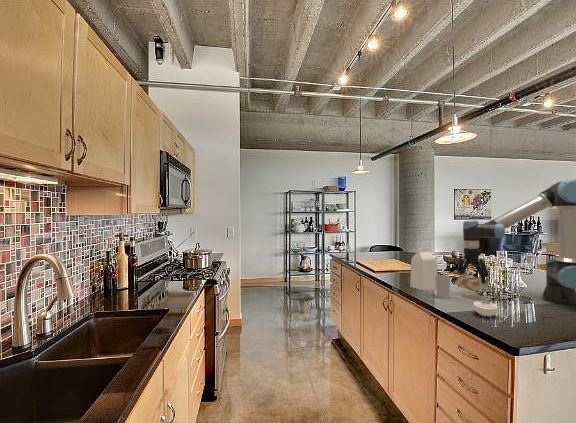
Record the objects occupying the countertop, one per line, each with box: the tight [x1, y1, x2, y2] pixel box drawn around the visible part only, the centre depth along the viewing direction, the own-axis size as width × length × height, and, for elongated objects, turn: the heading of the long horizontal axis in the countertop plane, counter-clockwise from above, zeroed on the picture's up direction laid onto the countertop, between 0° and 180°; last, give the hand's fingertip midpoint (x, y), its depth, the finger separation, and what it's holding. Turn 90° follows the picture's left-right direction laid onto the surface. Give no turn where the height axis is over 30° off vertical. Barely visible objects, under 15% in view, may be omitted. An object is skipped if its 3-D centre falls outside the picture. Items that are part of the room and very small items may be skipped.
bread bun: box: [456, 275, 489, 292], centre depth 174 cm, size 10×10×5 cm
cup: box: [435, 274, 451, 300], centre depth 175 cm, size 8×8×12 cm
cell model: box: [473, 300, 500, 318], centre depth 145 cm, size 10×12×7 cm
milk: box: [409, 246, 438, 292], centre depth 198 cm, size 12×12×26 cm
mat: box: [452, 292, 493, 303], centre depth 174 cm, size 14×14×1 cm
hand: (472, 287), depth 174 cm, fingers closed on bread bun, 10 cm apart
